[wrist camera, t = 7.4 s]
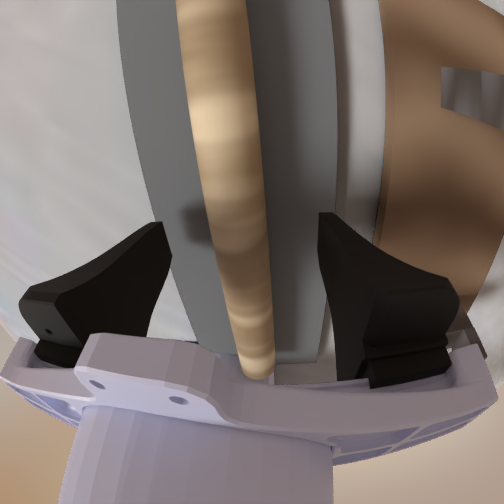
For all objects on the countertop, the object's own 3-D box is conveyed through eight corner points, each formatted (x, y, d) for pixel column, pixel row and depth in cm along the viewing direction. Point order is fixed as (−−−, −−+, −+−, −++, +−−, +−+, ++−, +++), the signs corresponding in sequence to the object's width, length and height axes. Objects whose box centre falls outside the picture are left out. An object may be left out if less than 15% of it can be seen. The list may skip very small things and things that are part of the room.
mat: (315, 356, 21) (316, 362, 20) (207, 357, 22) (206, 363, 21) (318, -40, 6) (320, -44, 5) (121, -8, 7) (115, -11, 6)
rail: (277, 352, 19) (273, 380, 17) (244, 350, 20) (238, 377, 18) (248, -12, 7) (235, -32, 5) (188, 0, 7) (163, -15, 5)
